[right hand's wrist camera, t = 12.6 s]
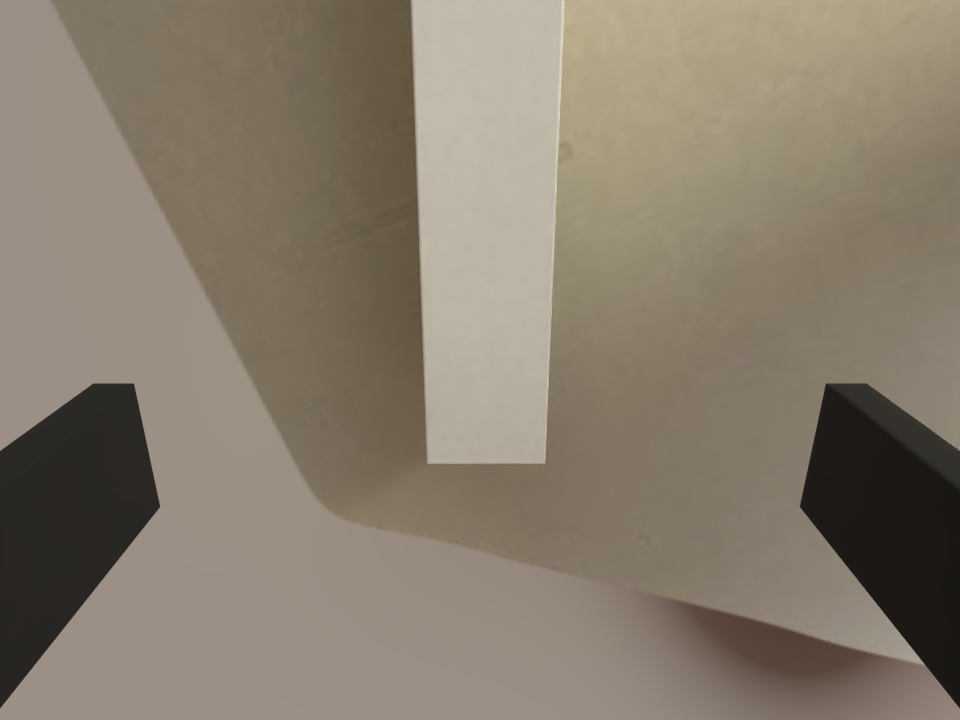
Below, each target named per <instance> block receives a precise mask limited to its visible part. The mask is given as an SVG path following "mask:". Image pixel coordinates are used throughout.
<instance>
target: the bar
mask: <svg viewBox="0 0 960 720" xmlns="http://www.w3.org/2000/svg"><path fill="white" fill-rule="evenodd" d="M410 3H411V31H412V60H413V88H414V117H415V145H416V174H417V202H418V231H419V259H420V288H421V316H422V345H423V373H424V402H425V430H426V459H427V464H544V463H545V457H546V432H547V408H548V384H549V360H550V336H551V312H552V288H553V264H554V239H555V215H556V191H557V167H558V143H559V119H560V95H561V71H562V46H563V22H564V0H410Z"/></svg>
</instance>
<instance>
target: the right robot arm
mask: <svg viewBox="0 0 960 720" xmlns="http://www.w3.org/2000/svg"><path fill="white" fill-rule="evenodd" d="M159 508H160V504H159V500H158V495H157V490H156V485H155V481H154V476H153V471H152V466H151V462H150V457H149V452H148V448H147V443H146V438H145V434H144V429H143V424H142V419H141V415H140V410H139V405H138V401H137V396H136V391H135V387H134V384H92V385H91V386H90V387H88V388H87V389H85V390H84V391H83V392H81V393H80V394H78V395H77V396H76V397H74V398H73V399H72V400H70V401H69V402H67V403H66V404H65V405H63V406H62V407H60V408H59V409H58V410H56V411H55V412H54V413H52V414H51V415H49V416H48V417H47V418H45V419H44V420H42V421H41V422H40V423H38V424H37V425H36V426H34V427H33V428H31V429H30V430H29V431H27V432H26V433H25V434H23V435H22V436H20V437H19V438H18V439H16V440H15V441H13V442H12V443H11V444H9V445H8V446H7V447H5V448H4V449H2V450H1V451H0V708H1V707H2V705H3V704H4V703H5V702H6V700H7V699H8V698H9V697H10V695H11V694H12V693H13V691H14V690H15V689H16V688H17V686H18V685H19V684H20V683H21V681H22V680H23V679H24V678H25V676H26V675H27V674H28V673H29V671H30V670H31V669H32V668H33V666H34V665H35V664H36V663H37V661H38V660H39V659H40V657H41V656H42V655H43V654H44V652H45V651H46V650H47V649H48V647H49V646H50V645H51V644H52V642H53V641H54V640H55V639H56V637H57V636H58V635H59V634H60V632H61V631H62V630H63V629H64V627H65V626H66V625H67V623H68V622H69V621H70V620H71V618H72V617H73V616H74V615H75V613H76V612H77V611H78V610H79V608H80V607H81V606H82V605H83V603H84V602H85V601H86V600H87V598H88V597H89V596H90V595H91V593H92V592H93V591H94V589H95V588H96V587H97V586H98V584H99V583H100V582H101V581H102V579H103V578H104V577H105V576H106V574H107V573H108V572H109V571H110V569H111V568H112V567H113V566H114V564H115V563H116V562H117V561H118V559H119V558H120V557H121V555H122V554H123V553H124V552H125V550H126V549H127V548H128V547H129V545H130V544H131V543H132V542H133V540H134V539H135V538H136V536H137V535H138V534H139V533H140V532H141V530H142V529H143V528H144V526H145V525H146V524H147V523H148V521H149V520H150V519H151V518H152V516H153V515H154V514H155V513H156V511H157V510H158V509H159ZM800 508H801V509H802V510H803V511H804V513H805V514H806V515H807V516H808V518H809V519H810V520H811V521H812V523H813V524H814V525H815V527H816V528H817V529H818V530H819V532H820V533H821V534H822V535H823V537H824V538H825V539H826V540H827V542H828V543H829V544H830V545H831V547H832V548H833V549H834V550H835V552H836V553H837V554H838V555H839V557H840V558H841V559H842V561H843V562H844V563H845V564H846V566H847V567H848V568H849V569H850V571H851V572H852V573H853V574H854V576H855V577H856V578H857V579H858V581H859V582H860V583H861V584H862V586H863V587H864V588H865V589H866V591H867V592H868V593H869V595H870V596H871V597H872V598H873V600H874V601H875V602H876V603H877V605H878V606H879V607H880V608H881V610H882V611H883V612H884V613H885V615H886V616H887V617H888V618H889V620H890V621H891V622H892V623H893V625H894V626H895V627H896V629H897V630H898V631H899V632H900V634H901V635H902V636H903V637H904V639H905V640H906V641H907V642H908V644H909V645H910V646H911V647H912V649H913V650H914V651H915V652H916V654H917V655H918V656H919V657H920V659H921V660H922V661H923V663H924V664H925V665H926V666H927V668H928V669H929V670H930V671H931V672H932V674H933V675H934V676H935V678H936V679H937V680H938V681H939V683H940V684H941V685H942V686H943V688H944V689H945V690H946V691H947V693H948V694H949V695H950V696H951V698H952V699H953V700H954V702H955V703H956V704H957V705H958V707H959V708H960V451H959V450H958V449H956V448H955V447H953V446H952V445H951V444H949V443H948V442H947V441H945V440H944V439H942V438H941V437H940V436H938V435H937V434H935V433H934V432H933V431H931V430H930V429H929V428H927V427H926V426H924V425H923V424H922V423H920V422H919V421H918V420H916V419H915V418H913V417H912V416H911V415H909V414H908V413H906V412H905V411H904V410H902V409H901V408H900V407H898V406H897V405H895V404H894V403H893V402H891V401H890V400H888V399H887V398H886V397H884V396H883V395H882V394H880V393H879V392H877V391H876V390H875V389H873V388H872V387H871V386H869V385H868V384H826V387H825V391H824V396H823V401H822V405H821V410H820V415H819V419H818V424H817V429H816V434H815V438H814V443H813V448H812V452H811V457H810V462H809V466H808V471H807V476H806V481H805V485H804V490H803V495H802V499H801V504H800Z"/></svg>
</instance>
